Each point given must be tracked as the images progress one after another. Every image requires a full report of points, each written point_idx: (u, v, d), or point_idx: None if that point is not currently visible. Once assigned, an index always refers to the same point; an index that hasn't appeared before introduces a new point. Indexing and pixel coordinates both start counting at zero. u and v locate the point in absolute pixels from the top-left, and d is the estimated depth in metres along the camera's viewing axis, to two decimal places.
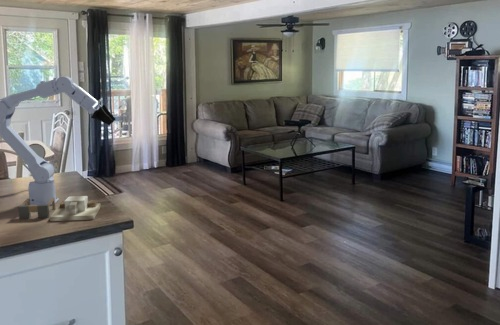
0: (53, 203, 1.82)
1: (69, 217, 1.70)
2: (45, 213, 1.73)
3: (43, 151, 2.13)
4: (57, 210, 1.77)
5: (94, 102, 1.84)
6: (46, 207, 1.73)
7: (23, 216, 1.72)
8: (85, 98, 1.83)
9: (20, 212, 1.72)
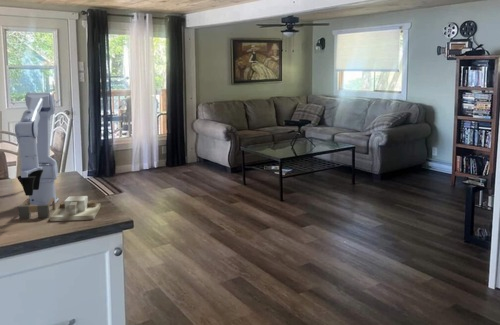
0: (53, 203, 1.82)
1: (69, 217, 1.70)
2: (45, 213, 1.73)
3: None
4: (57, 210, 1.77)
5: (34, 166, 1.68)
6: (46, 207, 1.73)
7: (23, 216, 1.72)
8: (30, 157, 1.66)
9: (20, 212, 1.72)
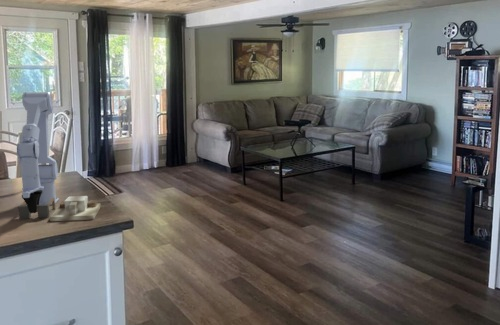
0: (53, 203, 1.82)
1: (69, 217, 1.70)
2: (45, 213, 1.73)
3: None
4: (57, 210, 1.77)
5: (35, 186, 1.69)
6: (46, 207, 1.73)
7: (23, 216, 1.72)
8: (31, 177, 1.68)
9: (20, 212, 1.72)
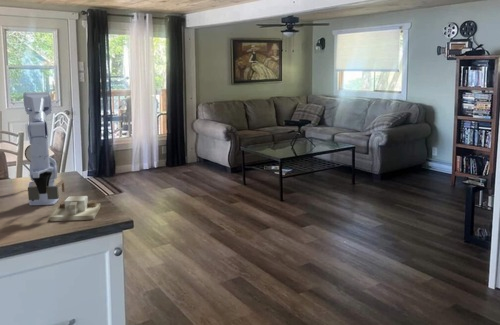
0: (63, 185, 1.81)
1: (69, 217, 1.70)
2: (55, 194, 1.71)
3: None
4: (57, 210, 1.77)
5: (45, 167, 1.68)
6: (56, 188, 1.71)
7: (33, 198, 1.71)
8: (41, 158, 1.66)
9: (30, 193, 1.70)
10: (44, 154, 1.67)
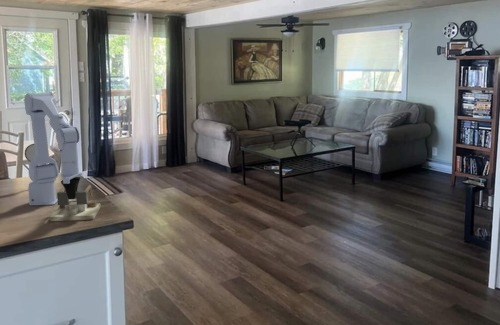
0: (90, 190, 1.81)
1: (69, 217, 1.70)
2: (84, 200, 1.72)
3: None
4: (57, 210, 1.77)
5: (74, 172, 1.68)
6: (85, 194, 1.72)
7: (62, 203, 1.71)
8: (71, 163, 1.67)
9: (59, 199, 1.71)
10: (76, 159, 1.68)
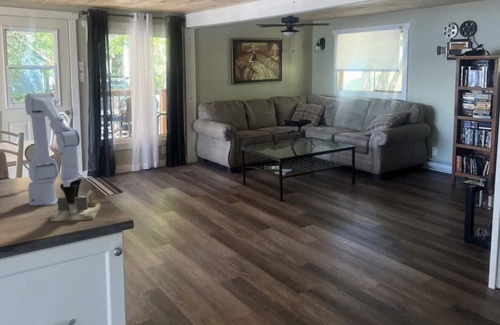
0: (90, 196, 1.82)
1: (69, 217, 1.70)
2: (84, 205, 1.72)
3: None
4: (57, 210, 1.77)
5: (75, 175, 1.69)
6: (85, 199, 1.72)
7: (63, 208, 1.72)
8: (71, 166, 1.67)
9: (59, 204, 1.71)
10: (76, 162, 1.69)
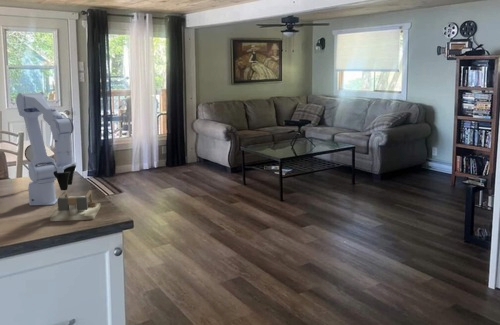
0: (90, 196, 1.82)
1: (69, 217, 1.70)
2: (84, 205, 1.72)
3: None
4: (57, 210, 1.77)
5: (68, 162, 1.74)
6: (85, 199, 1.72)
7: (63, 208, 1.72)
8: (65, 153, 1.72)
9: (59, 204, 1.71)
10: (70, 149, 1.74)
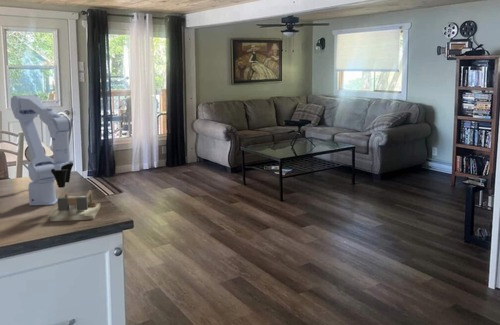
0: (90, 196, 1.82)
1: (69, 217, 1.70)
2: (84, 205, 1.72)
3: None
4: (57, 210, 1.77)
5: (66, 160, 1.77)
6: (85, 199, 1.72)
7: (63, 208, 1.72)
8: (62, 151, 1.75)
9: (59, 204, 1.71)
10: (68, 147, 1.77)
